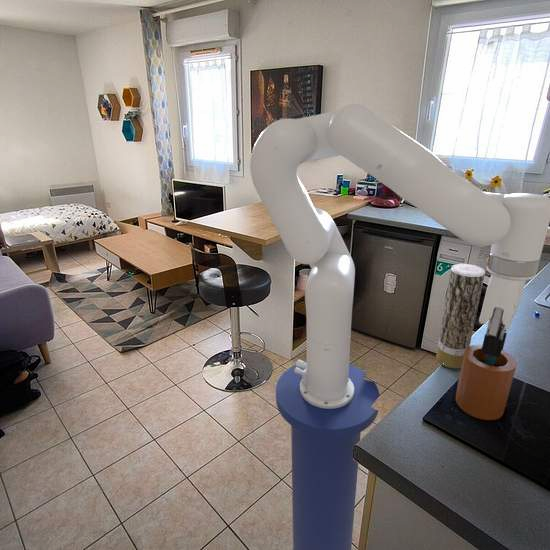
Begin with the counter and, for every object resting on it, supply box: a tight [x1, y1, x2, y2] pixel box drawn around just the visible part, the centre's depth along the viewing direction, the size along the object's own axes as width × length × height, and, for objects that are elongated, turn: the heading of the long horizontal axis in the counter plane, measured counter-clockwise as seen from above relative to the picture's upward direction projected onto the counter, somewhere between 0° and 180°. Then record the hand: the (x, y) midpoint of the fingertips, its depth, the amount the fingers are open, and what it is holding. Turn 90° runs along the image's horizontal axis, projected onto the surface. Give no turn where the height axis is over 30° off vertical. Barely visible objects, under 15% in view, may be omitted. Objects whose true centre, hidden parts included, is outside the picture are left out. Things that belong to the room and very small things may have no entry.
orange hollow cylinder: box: [455, 344, 518, 421], centre depth 75 cm, size 9×9×12 cm
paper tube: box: [435, 263, 486, 370], centre depth 86 cm, size 7×7×25 cm
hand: (492, 350), depth 72 cm, fingers closed
